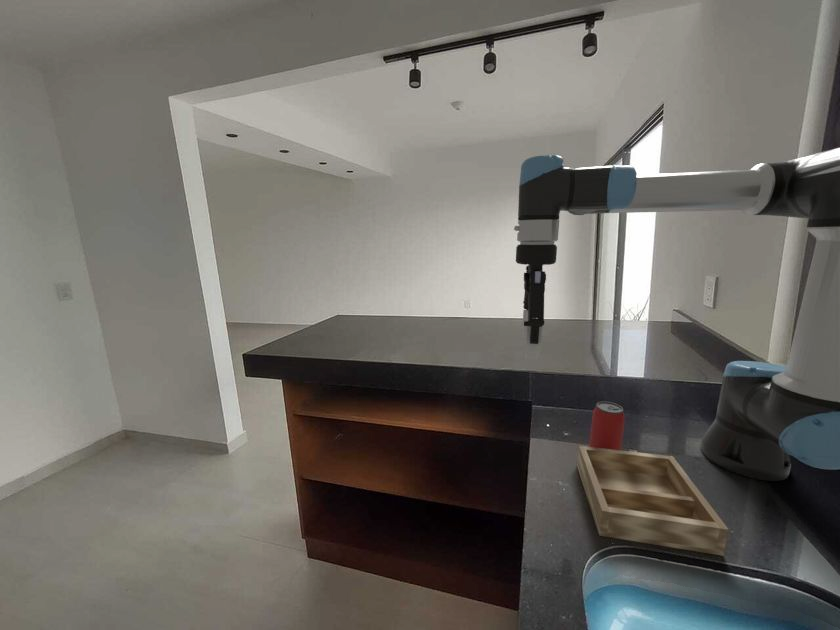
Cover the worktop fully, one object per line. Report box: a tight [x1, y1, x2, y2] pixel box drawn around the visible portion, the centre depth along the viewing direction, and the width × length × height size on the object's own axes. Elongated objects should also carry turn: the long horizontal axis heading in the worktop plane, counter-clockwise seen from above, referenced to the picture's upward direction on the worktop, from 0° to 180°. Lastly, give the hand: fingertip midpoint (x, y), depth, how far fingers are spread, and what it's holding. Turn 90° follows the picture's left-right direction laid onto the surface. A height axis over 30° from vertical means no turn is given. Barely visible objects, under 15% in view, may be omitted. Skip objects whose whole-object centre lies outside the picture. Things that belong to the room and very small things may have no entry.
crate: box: [576, 445, 729, 557], centre depth 68 cm, size 18×19×5 cm
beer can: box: [588, 401, 626, 451], centre depth 82 cm, size 7×7×12 cm
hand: (530, 348), depth 73 cm, fingers open, 13 cm apart
